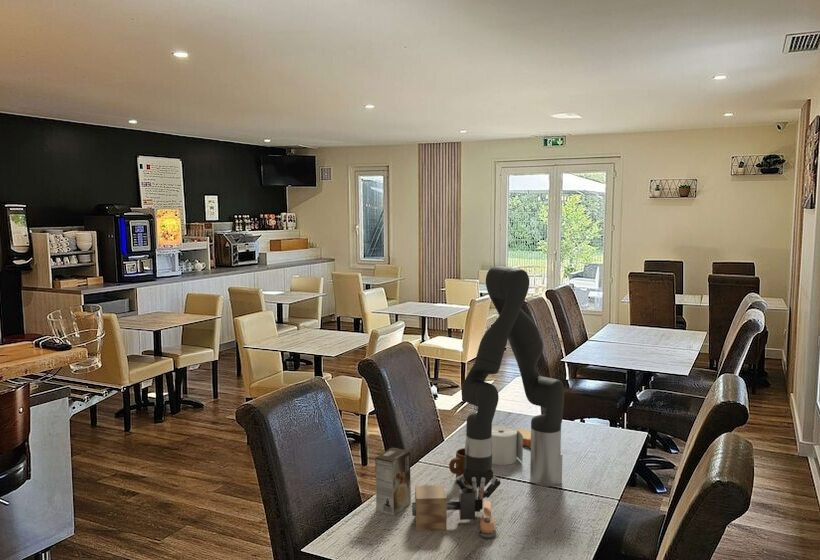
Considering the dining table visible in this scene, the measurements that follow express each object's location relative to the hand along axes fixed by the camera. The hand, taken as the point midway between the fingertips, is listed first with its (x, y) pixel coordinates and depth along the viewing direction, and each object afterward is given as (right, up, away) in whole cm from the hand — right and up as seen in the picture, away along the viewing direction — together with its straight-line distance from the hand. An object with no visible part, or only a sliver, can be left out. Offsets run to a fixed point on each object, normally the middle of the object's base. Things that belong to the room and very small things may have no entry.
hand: (477, 510), depth 177 cm
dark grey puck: (+2, -3, -11) cm, 11 cm away
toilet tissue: (+13, +3, +40) cm, 42 cm away
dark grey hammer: (-10, 0, -4) cm, 11 cm away
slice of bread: (+24, +5, +57) cm, 61 cm away
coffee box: (-24, -1, +5) cm, 24 cm away
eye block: (-13, -2, -4) cm, 14 cm away
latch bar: (+2, -1, -5) cm, 6 cm away
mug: (-2, +1, +21) cm, 21 cm away
